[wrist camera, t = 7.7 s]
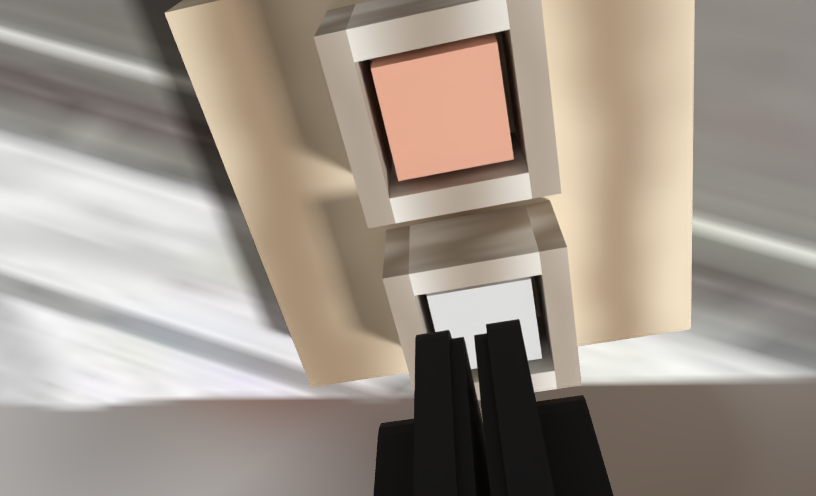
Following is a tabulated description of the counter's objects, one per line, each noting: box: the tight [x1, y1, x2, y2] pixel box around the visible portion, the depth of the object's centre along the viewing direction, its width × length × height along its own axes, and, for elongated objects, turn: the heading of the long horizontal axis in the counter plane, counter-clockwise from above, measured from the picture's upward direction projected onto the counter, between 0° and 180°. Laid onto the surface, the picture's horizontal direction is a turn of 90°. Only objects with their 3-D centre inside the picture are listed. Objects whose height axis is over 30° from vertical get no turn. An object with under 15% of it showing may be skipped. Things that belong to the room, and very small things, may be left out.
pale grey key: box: [427, 277, 542, 369], centre depth 28 cm, size 4×4×3 cm
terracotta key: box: [371, 33, 514, 181], centre depth 23 cm, size 4×4×3 cm
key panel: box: [165, 0, 695, 400], centre depth 26 cm, size 18×18×7 cm
